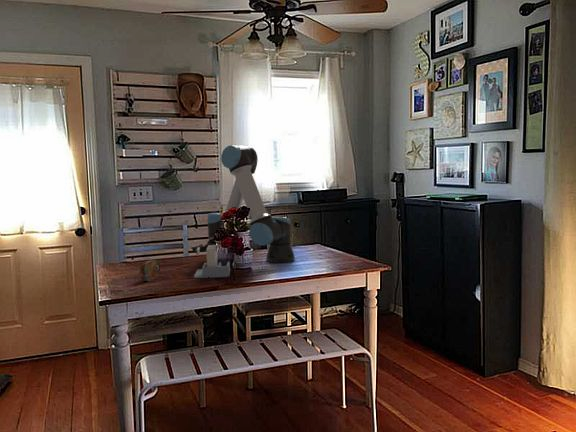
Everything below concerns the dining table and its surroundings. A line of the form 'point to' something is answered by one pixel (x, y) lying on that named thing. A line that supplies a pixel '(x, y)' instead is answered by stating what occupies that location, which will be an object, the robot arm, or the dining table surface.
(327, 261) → the dining table surface
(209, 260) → the cream upright slab
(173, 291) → the dining table surface
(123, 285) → the dining table surface
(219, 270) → the rack
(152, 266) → the mottled brown flat piece
